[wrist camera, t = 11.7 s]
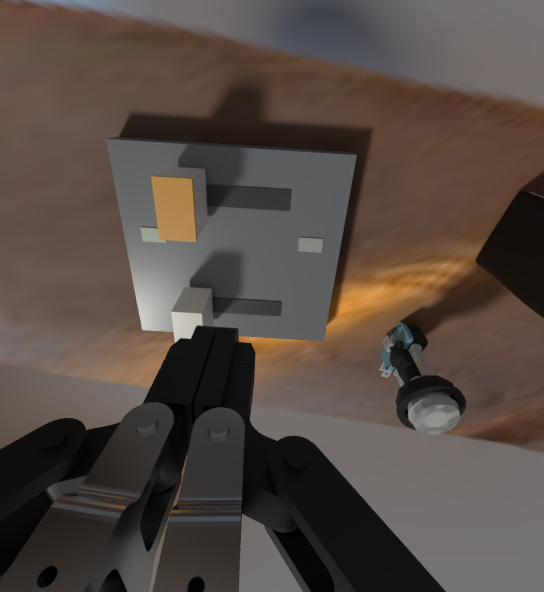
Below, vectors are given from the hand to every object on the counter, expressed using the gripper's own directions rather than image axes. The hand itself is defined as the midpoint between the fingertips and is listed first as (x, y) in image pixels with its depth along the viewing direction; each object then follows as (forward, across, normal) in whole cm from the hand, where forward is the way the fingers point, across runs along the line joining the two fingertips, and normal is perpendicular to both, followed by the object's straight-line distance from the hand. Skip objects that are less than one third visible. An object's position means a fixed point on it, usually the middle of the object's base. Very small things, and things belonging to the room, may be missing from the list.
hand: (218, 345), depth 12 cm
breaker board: (+18, +2, +3) cm, 18 cm away
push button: (+18, -15, +13) cm, 27 cm away
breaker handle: (+15, +5, -2) cm, 16 cm away
